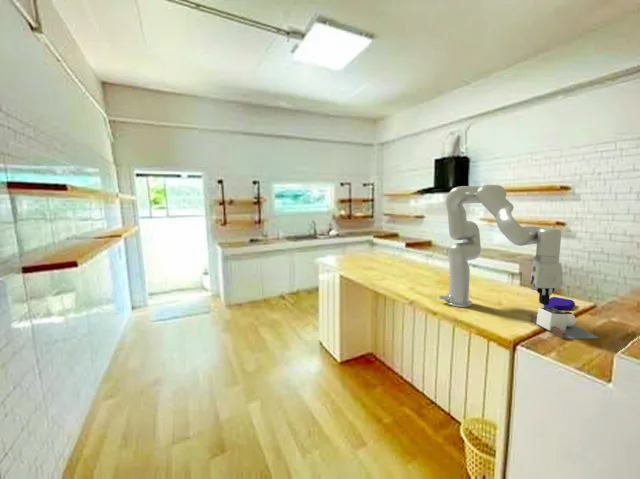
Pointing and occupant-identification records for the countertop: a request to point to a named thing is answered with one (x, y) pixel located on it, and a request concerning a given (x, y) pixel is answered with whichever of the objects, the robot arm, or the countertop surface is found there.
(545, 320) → the medicine bottle
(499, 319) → the countertop surface
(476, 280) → the countertop surface
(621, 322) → the countertop surface
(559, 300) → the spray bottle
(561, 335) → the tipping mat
